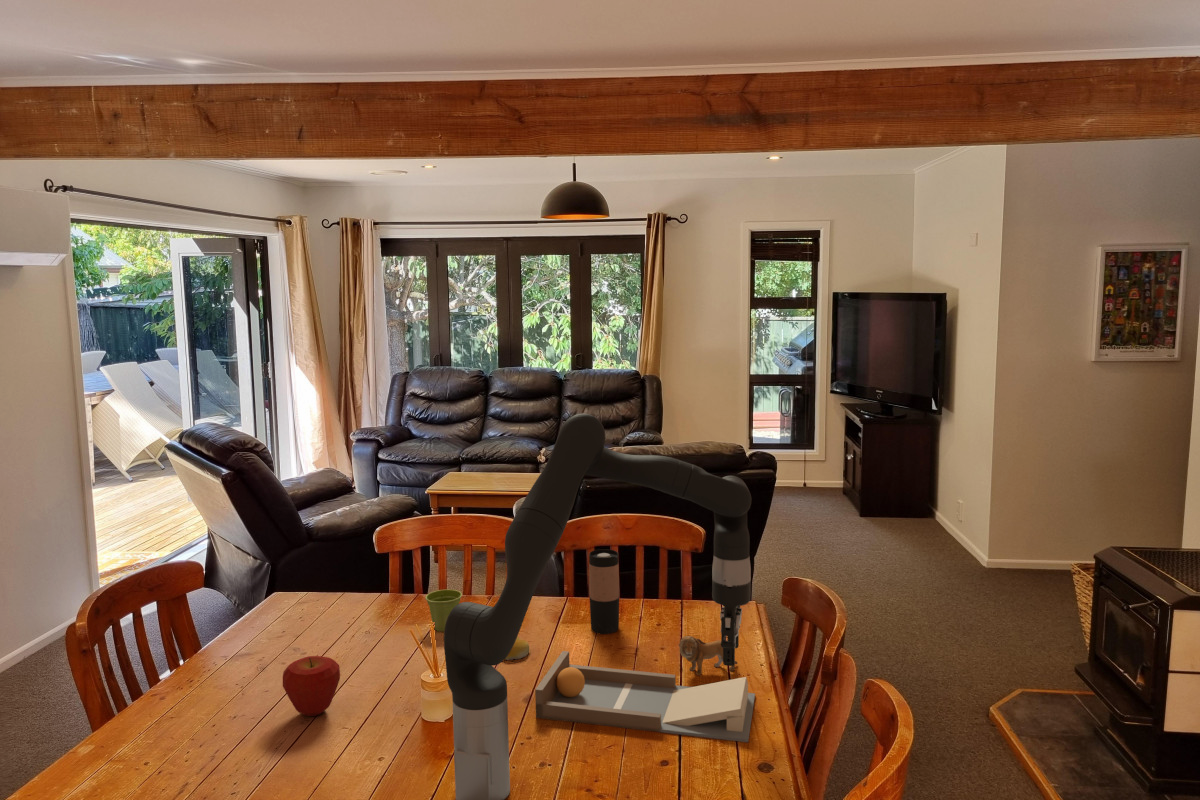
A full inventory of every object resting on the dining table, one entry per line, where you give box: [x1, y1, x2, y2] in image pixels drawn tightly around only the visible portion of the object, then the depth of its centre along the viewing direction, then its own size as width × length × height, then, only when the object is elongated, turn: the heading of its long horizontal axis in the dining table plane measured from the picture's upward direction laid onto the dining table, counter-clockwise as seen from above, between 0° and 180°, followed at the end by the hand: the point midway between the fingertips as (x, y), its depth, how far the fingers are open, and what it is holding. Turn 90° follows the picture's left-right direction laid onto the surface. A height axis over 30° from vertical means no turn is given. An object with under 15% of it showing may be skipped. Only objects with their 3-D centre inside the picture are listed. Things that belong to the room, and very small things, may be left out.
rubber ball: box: [556, 667, 585, 697], centre depth 174 cm, size 6×6×6 cm
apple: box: [282, 655, 341, 717], centre depth 169 cm, size 11×11×12 cm
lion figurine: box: [678, 635, 738, 676], centre depth 187 cm, size 15×5×9 cm, turn 111°
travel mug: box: [588, 548, 620, 635], centre depth 211 cm, size 8×8×20 cm
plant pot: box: [425, 589, 463, 632], centre depth 214 cm, size 9×9×9 cm
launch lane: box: [534, 650, 756, 743], centre depth 170 cm, size 42×19×7 cm, turn 76°
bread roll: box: [505, 636, 530, 661], centre depth 198 cm, size 8×9×4 cm
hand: (731, 656), depth 165 cm, fingers open, 8 cm apart
